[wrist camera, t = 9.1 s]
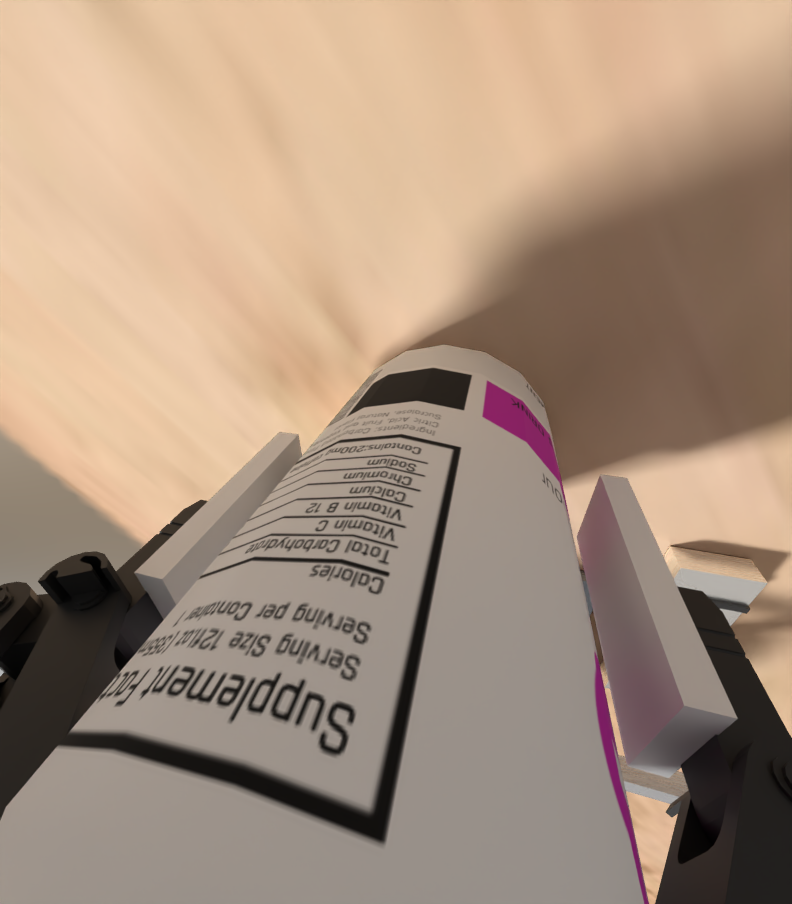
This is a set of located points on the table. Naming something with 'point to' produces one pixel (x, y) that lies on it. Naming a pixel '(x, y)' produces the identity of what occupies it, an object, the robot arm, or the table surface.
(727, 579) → the gauge housing
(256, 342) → the table surface
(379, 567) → the supplement can
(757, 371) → the table surface
